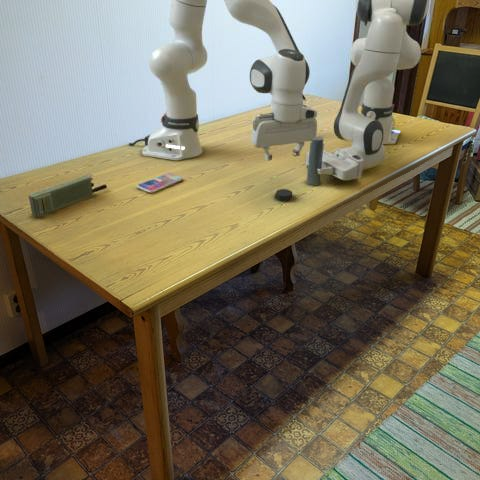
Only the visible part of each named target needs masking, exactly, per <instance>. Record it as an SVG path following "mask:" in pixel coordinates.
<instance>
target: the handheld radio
mask: <svg viewBox="0 0 480 480" xmlns="http://www.w3.org/2000/svg"><path fill="white" fill-rule="evenodd" d="M92 176H93V174H91V173H88V174H85V175H83V176H79V177H76V178H74V179H71V180H68V181H65V182H62V183H59V184H57V185H54V186H50V187H47V188H44V189H42V190H39V191H37V192H33V193H30V194H28V200H29V206H30V210H31V216H32V217H34V218H35V219H36V218H39V217H42V216H45V215H47V214H50V213H53V212H56V211H58V210H60V209H63V208H66V207H68V206H72V205H73V204H76V203H80V202H82V201H84V200H87V199H90V198H93V196H95V195H96V194H95V193H97V192H100V191H102V190H106V189H107V188H108V186H107V184H102V185H99V186H96V187H94V186H95V183H94V182H92V181H93V180H94V178H93V177H92ZM93 187H94V188H93Z"/></svg>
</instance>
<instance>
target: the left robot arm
mask: <svg viewBox="0 0 480 480" xmlns="http://www.w3.org/2000/svg"><path fill="white" fill-rule="evenodd" d="M224 3H225V6H226V9H227V11H228V13H229V14H230V16H231V17H232V18H233V19H235V20H236V21H237V22H239V23H242V24H244V25H248V26H251V27H254V28H257V29H259V30H261V31H263V33H265V34H266V35H267V36H268V37H269V38H270V40H271V42H272V45H273V47H274V49H275V50H276V52H275V54H273V55H270V56H267V57H263V58H258V59H256V60H255V61H254V62H253V63H252V65H251V67H250V70H249V82H250V85H251V87H252V88H253V90H254V91H256V92H257V93H259V94H270V95H271V101H270V112H267V113H258V115H257V116H255V117H254V118H253V120H252V131H251V136H250V143H251V144H252V146H254V147H255V148H257V149H262V151H263V153H264V160H265V161H266V162H269V161H272V160H273V154H272V153H271V152H270V151H269V150H271V147H275V146H283V145H290V144H296V146H295V148H294V149H292V156H294V157H300V156H301V151H302V149H303V148H304V146H305V143H306V142H307V143H308V142H312V141H313V140H314V139H315V138H316V137H317V132H318V120H317V116H318V110H317V109H315V108H313V107H311V106H309V105H306V104H304V101H303V100H304V99H303V97H302V93H303V92H304V89H305V86H306V84H307V83H308V81H309V79H310V75H311V74H310V73H311V72H310V71H311V70H310V66H309V63H308V61H307V60H306V58H305V55H304V54H303V53H302V52H301V51H300V49H299V48H298V45H297V44H296V42H295V39H294V37H293V35H292V33H291V31H290V29H289V27H288V25H287V23H286V21H285V18H284V17H283V15H282V13H281V11H280V10H279V8H278V7H276V5H275V4H273V3H272V2H271V0H224ZM207 4H208V0H171V5H170V11H169V18H168V22H169V25H170V26H171V28H172V29H173V32H174V41H173V42H172V43H169V44H164V45H161V46H160V47H158V48H156V49H154V50H153V51H152V52H151V53H150V55H149V59H148V65H149V69H150V71H151V73H152V75H154V77H156V78H157V79H158V80H159V82H160V85H161V86H162V89H163V93H164V100H165V101H164V102H165V113H163V114H162V116H161V118H160V123H161V125H159V127H157V128H156V129H155V130H154V131H152V132H151V133H149V134H148V135H146V136H145V137H144V138H140V139H137V140H135V141H134V142H129V143H128V145H129V146H135V145H136V144H138V143H139V142H144V147H143V148H142V150H141V155H142V156H145V157H152V158H157V159H164V160H170V161H176V162H178V161H182V160H185V159H190V158H191V159H192V158H196V157H198V156H200V155H202V153H203V149H202V148H203V147H202V145H201V142H200V134H199V128H200V121H199V114H198V103H197V93H196V91H195V90H194V89H193V88H191V85H190V82H189V78H188V75H190V74H195V73H197V72H198V71H199V70H201V69H203V67H204V66H205V65H206V64H207V62H208V52H207V49H206V47H205V45H204V42H203V26H204V19H205V14H206V8H207ZM303 94H304V93H303Z"/></svg>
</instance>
